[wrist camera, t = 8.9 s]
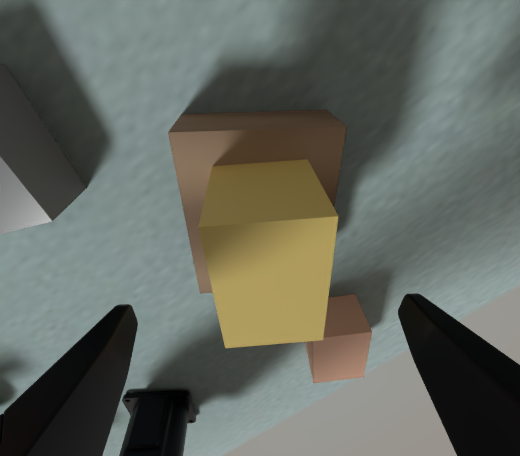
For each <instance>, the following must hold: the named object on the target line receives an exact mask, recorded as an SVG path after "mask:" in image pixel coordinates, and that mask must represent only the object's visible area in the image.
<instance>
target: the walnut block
mask: <svg viewBox="0 0 520 456" xmlns="http://www.w3.org/2000/svg"><path fill="white" fill-rule="evenodd" d="M346 129H347V127H346V126H345V125H344V124H343V123H342V122H340V121H339V120H338V119H337V118H336V117H334V116H333V115H332V114H331V113H330V112H328V111H327V110H303V111H266V112H230V113H194V114H181V116H180V117H179V118H178V120H177V121H176V122H175V124H174V125H173V127H172V128H171V129H170V131H169V132H168V134H169V139H170V144H171V150H172V155H173V160H174V165H175V170H176V175H177V180H178V185H179V190H180V195H181V200H182V205H183V210H184V215H185V220H186V225H187V230H188V235H189V240H190V245H191V250H192V255H193V260H194V265H195V270H196V275H197V280H198V285H199V291H200V293H213V291H212V286H211V282H210V277H209V273H208V268H207V264H206V259H205V255H204V250H203V246H202V241H201V237H200V232H199V228H198V226H199V222H200V218H201V213H202V209H203V204H204V200H205V196H206V191H207V187H208V182H209V178H210V174H211V169H212V166H222V165H236V164H249V163H263V162H276V161H290V160H303V159H308V161H309V163H310V165H311V167H312V168H313V170H314V172H315V174H316V176H317V178H318V179H319V181H320V183H321V185H322V187H323V189H324V190H325V192H326V194H327V196H328V198H329V200H330V202H331V203H332V205H333V207H334V204H335V198H336V192H337V185H338V179H339V173H340V167H341V160H342V154H343V148H344V142H345V135H346Z"/></svg>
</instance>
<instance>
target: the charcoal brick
mask: <svg viewBox="0 0 520 456" xmlns="http://www.w3.org/2000/svg"><path fill="white" fill-rule="evenodd" d="M86 188H87V187H86V186H85V184H84V183H83V181H82V180H81V178H80V177H79V175H78V174H77V172H76V171H75V169H74V168H73V166H72V165H71V163H70V162H69V160H68V159H67V157H66V156H65V154H64V153H63V151H62V150H61V148H60V147H59V145H58V144H57V142H56V141H55V139H54V138H53V136H52V135H51V133H50V132H49V130H48V129H47V127H46V126H45V124H44V123H43V121H42V120H41V118H40V117H39V115H38V114H37V112H36V111H35V109H34V108H33V106H32V105H31V103H30V102H29V100H28V99H27V97H26V96H25V94H24V93H23V91H22V90H21V88H20V87H19V85H18V84H17V82H16V81H15V79H14V78H13V76H12V75H11V73H10V72H9V70H8V69H7V67H6V66H5V64H0V234H3V233H7V232H11V231H15V230H19V229H23V228H27V227H31V226H35V225H39V224H43V223H47V222H51V221H53V220H54V219H55V218H56V217H57V216H58V215H59V214H60V213H61V212H62V211H63V210H64V209H66V208H67V207H68V206H69V205H70V204H71V203H72V202H73V201H74V200H75V199H76V198H77V197H78V196H79V195H80V194H81V193H82V192H83V191H84V190H85V189H86Z"/></svg>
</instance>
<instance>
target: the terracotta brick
mask: <svg viewBox="0 0 520 456" xmlns="http://www.w3.org/2000/svg"><path fill="white" fill-rule="evenodd" d="M371 335H372V330H371V328H370V326H369V324H368V322H367V319H366V317H365V315H364V313H363V310H362V308H361V306H360V304H359V302H358V299H357V297H356V295H355V294H352V295H344V296H336V297H328V304H327V312H326V320H325V328H324V336H323V340H319V341H307V342H305V345H306V350H307V354H308V359H309V364H310V369H311V373H312V378H313V383H319V382H327V381H335V380H343V379H352V378H360V377H364V372H365V367H366V362H367V356H368V351H369V346H370V341H371Z"/></svg>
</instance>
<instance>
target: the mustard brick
mask: <svg viewBox="0 0 520 456" xmlns="http://www.w3.org/2000/svg"><path fill="white" fill-rule="evenodd" d="M337 224H338V214H337V213H336V211H335V209H334V207H333V205H332V203H331V202H330V200H329V198H328V196H327V194H326V192H325V190H324V189H323V187H322V185H321V183H320V181H319V179H318V178H317V176H316V174H315V172H314V170H313V168H312V167H311V165H310V163H309V161H308V159H303V160H290V161H276V162H263V163H249V164H236V165H222V166H212V169H211V174H210V178H209V182H208V187H207V191H206V196H205V200H204V204H203V209H202V213H201V218H200V222H199V226H198V228H199V232H200V237H201V241H202V246H203V250H204V255H205V259H206V264H207V268H208V273H209V277H210V282H211V286H212V291H213V295H214V300H215V304H216V309H217V313H218V318H219V322H220V327H221V331H222V336H223V340H224V345H225V348H235V347H247V346H259V345H271V344H283V343H295V342H307V341H319V340H323V336H324V328H325V320H326V312H327V304H328V296H329V288H330V280H331V272H332V264H333V256H334V248H335V240H336V232H337Z"/></svg>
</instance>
